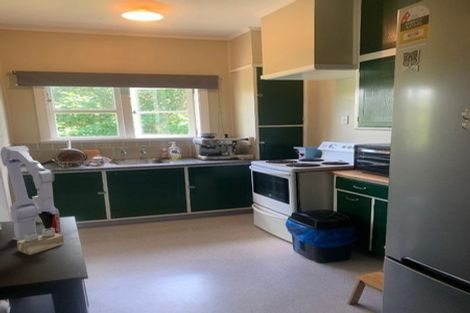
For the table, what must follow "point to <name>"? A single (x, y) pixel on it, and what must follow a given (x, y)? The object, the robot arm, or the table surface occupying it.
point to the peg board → (40, 244)
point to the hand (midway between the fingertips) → (48, 228)
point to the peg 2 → (48, 232)
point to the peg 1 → (31, 237)
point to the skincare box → (39, 211)
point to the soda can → (56, 223)
